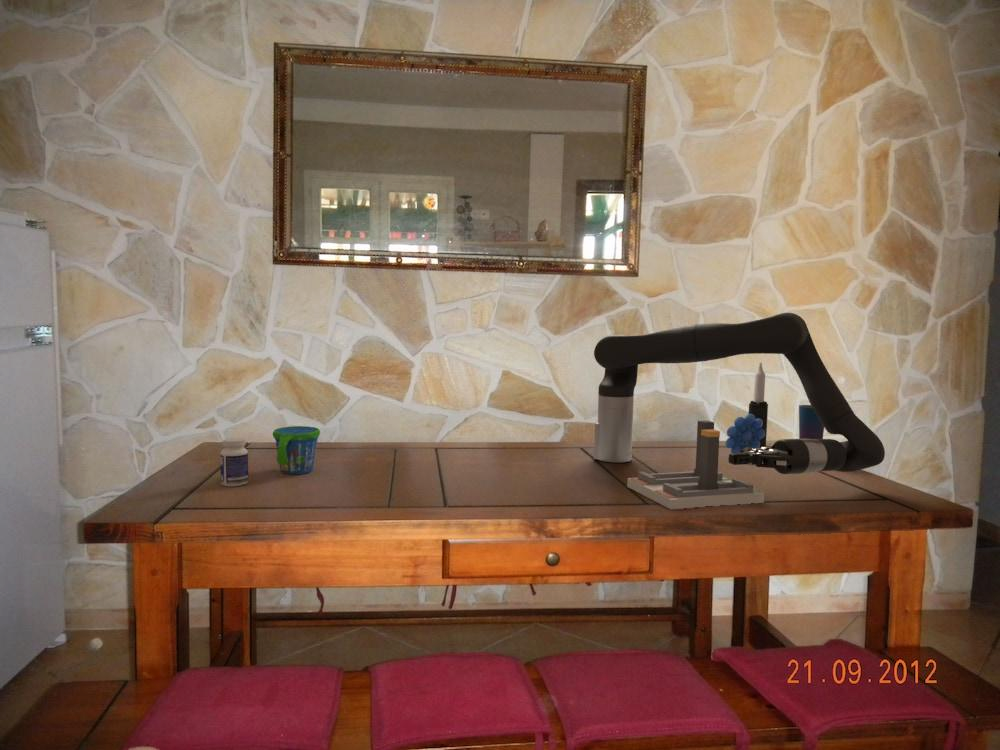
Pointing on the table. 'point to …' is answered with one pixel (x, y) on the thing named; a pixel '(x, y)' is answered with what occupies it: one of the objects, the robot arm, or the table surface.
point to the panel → (693, 486)
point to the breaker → (709, 459)
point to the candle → (760, 402)
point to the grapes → (745, 433)
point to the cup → (809, 423)
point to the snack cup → (296, 448)
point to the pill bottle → (234, 462)
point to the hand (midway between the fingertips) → (730, 459)
